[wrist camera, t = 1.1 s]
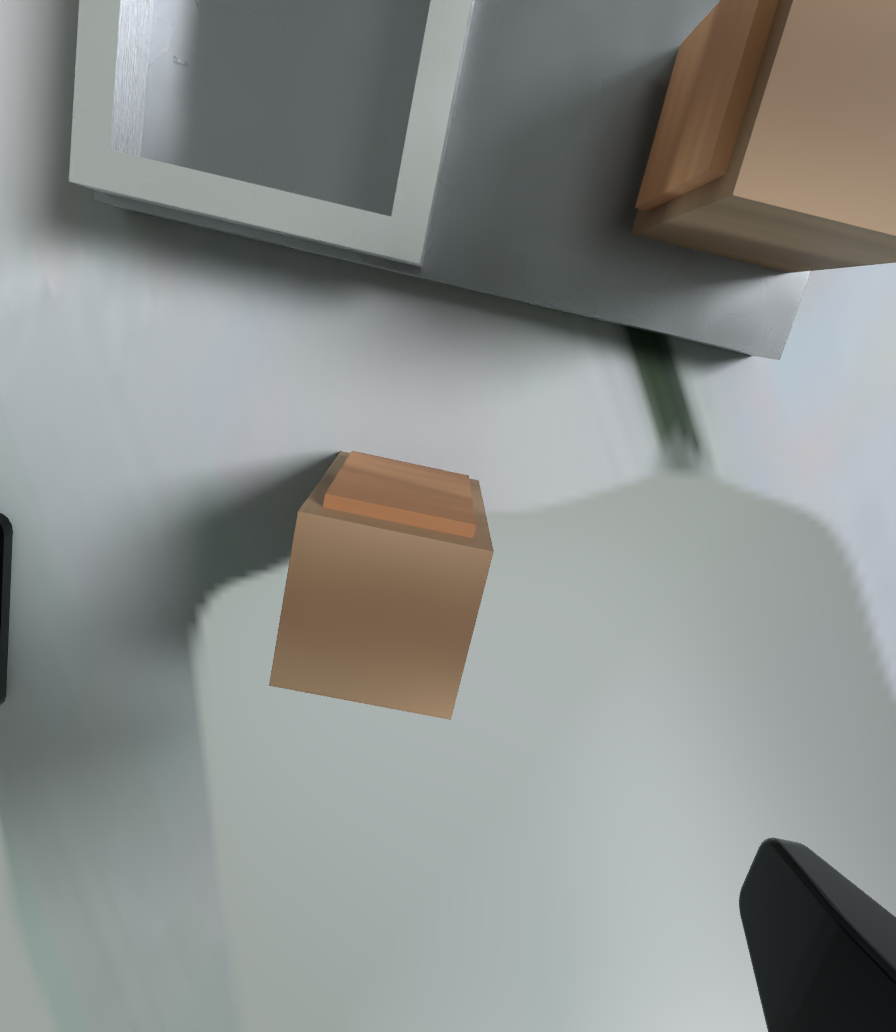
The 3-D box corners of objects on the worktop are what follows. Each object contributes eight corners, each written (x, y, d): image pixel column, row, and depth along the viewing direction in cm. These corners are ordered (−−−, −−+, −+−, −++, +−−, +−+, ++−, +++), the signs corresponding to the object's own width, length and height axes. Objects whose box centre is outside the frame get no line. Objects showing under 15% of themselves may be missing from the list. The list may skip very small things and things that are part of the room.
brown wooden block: (789, 272, 17) (972, 254, 11) (618, 231, 16) (714, 190, 11) (852, 89, 16) (1091, -39, 10) (670, 41, 15) (808, -119, 10)
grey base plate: (754, 355, 19) (810, 364, 16) (121, 208, 18) (58, 188, 15) (868, 20, 16) (957, -40, 14) (151, -175, 15) (83, -287, 12)
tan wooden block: (448, 606, 21) (450, 719, 15) (317, 580, 21) (269, 685, 15) (480, 470, 20) (496, 538, 14) (342, 440, 19) (300, 497, 14)
